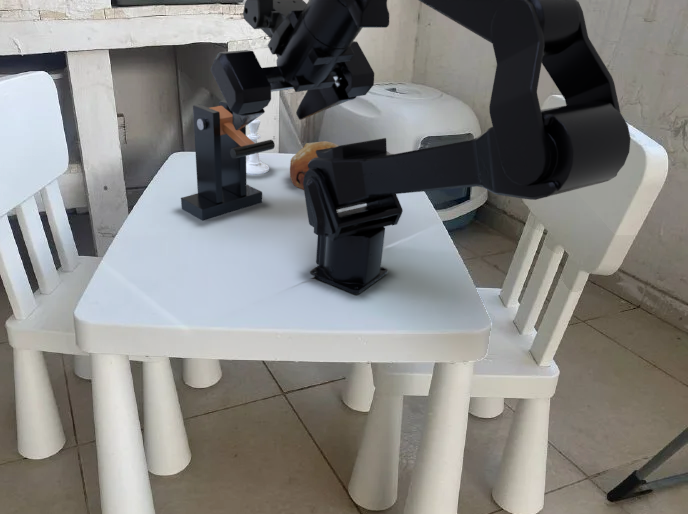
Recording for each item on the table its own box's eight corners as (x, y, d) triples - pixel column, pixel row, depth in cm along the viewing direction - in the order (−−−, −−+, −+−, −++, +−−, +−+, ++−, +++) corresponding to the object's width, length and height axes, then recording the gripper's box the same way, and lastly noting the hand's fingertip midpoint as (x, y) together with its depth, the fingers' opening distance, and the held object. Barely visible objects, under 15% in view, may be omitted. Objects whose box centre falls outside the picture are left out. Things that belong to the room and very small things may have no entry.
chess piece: (233, 174, 95) (231, 109, 90) (246, 164, 99) (245, 101, 94) (262, 179, 94) (262, 113, 88) (274, 169, 97) (275, 105, 92)
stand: (262, 205, 85) (262, 104, 78) (202, 223, 79) (197, 116, 72) (240, 194, 88) (238, 96, 81) (181, 211, 82) (174, 108, 75)
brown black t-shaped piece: (272, 155, 76) (276, 138, 75) (234, 164, 73) (237, 147, 71) (230, 120, 80) (233, 103, 79) (192, 127, 77) (194, 110, 75)
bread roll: (352, 199, 97) (356, 148, 96) (354, 195, 87) (358, 137, 86) (290, 195, 98) (293, 144, 97) (285, 190, 87) (288, 134, 86)
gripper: (362, -40, 66) (301, 60, 79) (213, -40, 56) (171, 73, 70) (409, 44, 64) (338, 131, 77) (263, 58, 55) (210, 156, 68)
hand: (268, 121), depth 73 cm, fingers open, 9 cm apart
